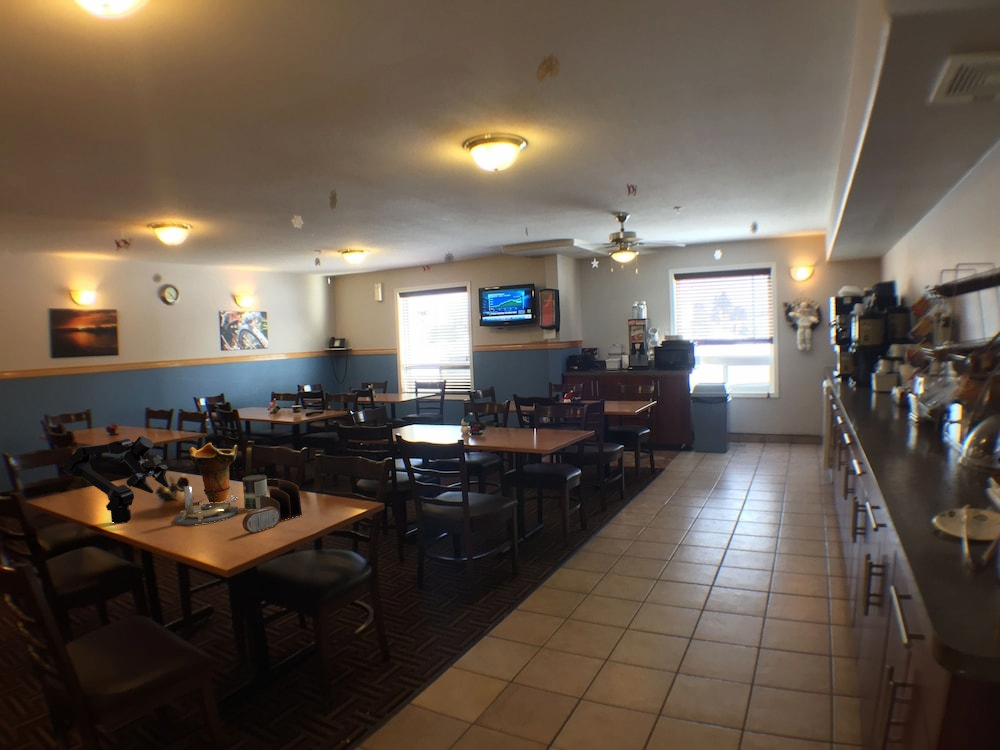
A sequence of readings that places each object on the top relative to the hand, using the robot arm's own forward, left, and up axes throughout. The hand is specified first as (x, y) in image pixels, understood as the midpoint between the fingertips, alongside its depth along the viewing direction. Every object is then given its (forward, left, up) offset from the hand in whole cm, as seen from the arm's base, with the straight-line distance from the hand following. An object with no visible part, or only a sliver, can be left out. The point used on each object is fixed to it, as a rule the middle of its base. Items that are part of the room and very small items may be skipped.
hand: (160, 489), depth 254 cm
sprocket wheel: (+17, -1, -12) cm, 21 cm away
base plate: (+17, -1, -14) cm, 22 cm away
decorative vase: (+19, +26, -14) cm, 35 cm away
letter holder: (+47, -16, -14) cm, 52 cm away
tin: (+40, -35, -14) cm, 55 cm away
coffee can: (+37, +2, -14) cm, 40 cm away
